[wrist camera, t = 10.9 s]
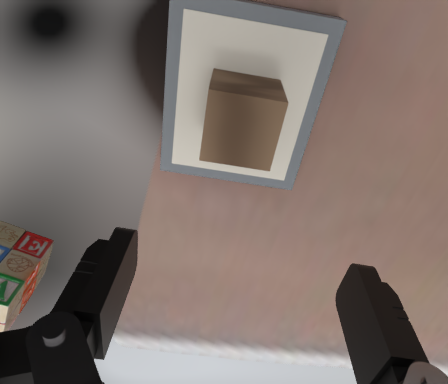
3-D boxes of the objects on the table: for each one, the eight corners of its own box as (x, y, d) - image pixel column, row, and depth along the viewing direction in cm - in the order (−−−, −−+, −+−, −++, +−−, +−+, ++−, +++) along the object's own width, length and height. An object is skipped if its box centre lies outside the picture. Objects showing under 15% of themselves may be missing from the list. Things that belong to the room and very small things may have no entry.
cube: (280, 79, 25) (288, 102, 21) (265, 140, 28) (269, 171, 23) (213, 68, 24) (208, 89, 20) (205, 130, 27) (199, 160, 23)
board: (339, 17, 24) (347, 21, 22) (289, 178, 32) (291, 191, 30) (175, -14, 24) (169, -12, 22) (164, 159, 31) (159, 171, 30)
